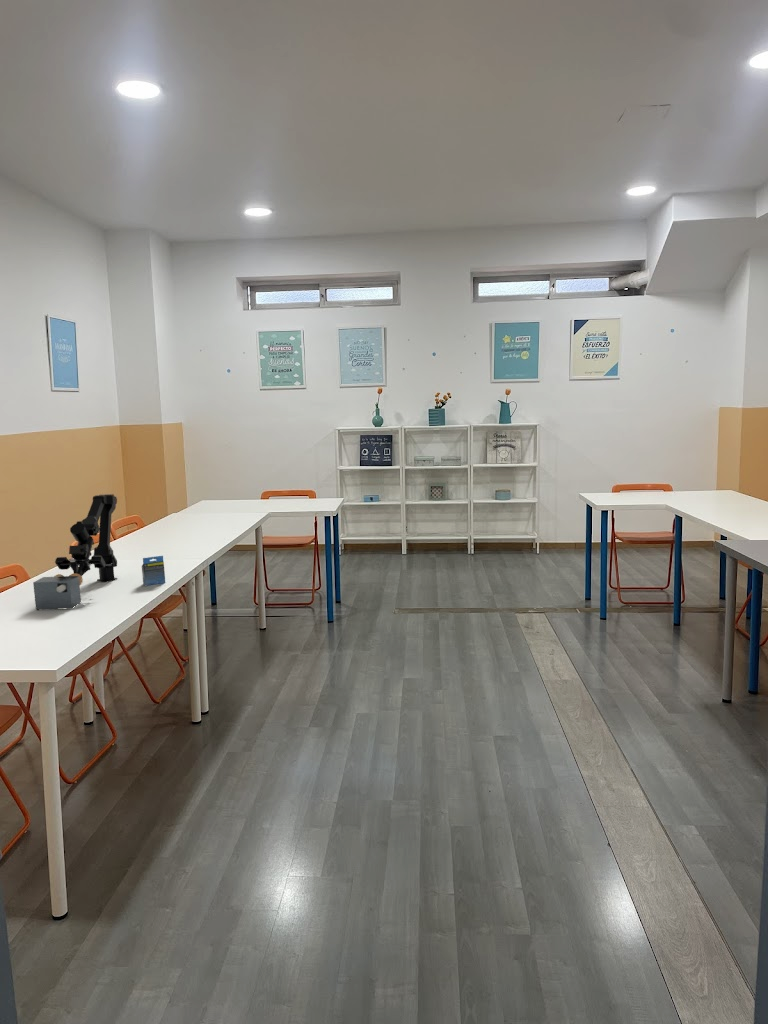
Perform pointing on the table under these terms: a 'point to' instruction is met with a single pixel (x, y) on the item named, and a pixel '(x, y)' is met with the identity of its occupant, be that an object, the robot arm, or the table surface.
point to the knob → (64, 586)
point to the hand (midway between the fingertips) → (76, 580)
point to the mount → (51, 598)
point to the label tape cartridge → (153, 570)
